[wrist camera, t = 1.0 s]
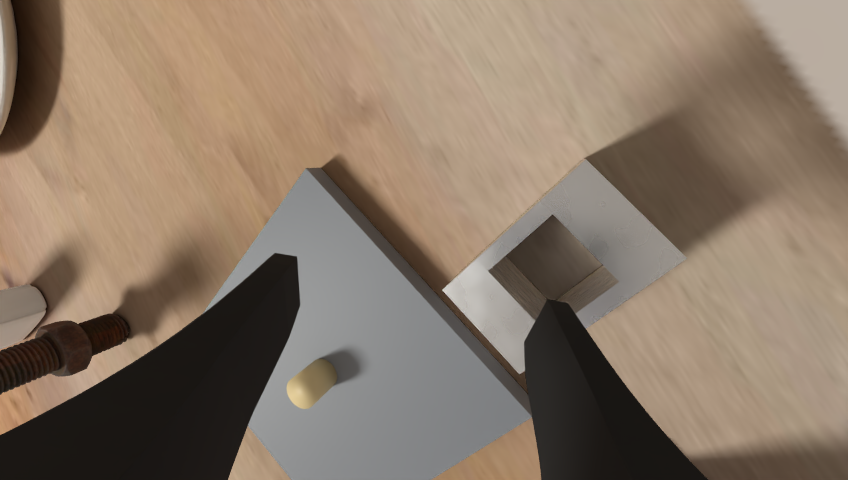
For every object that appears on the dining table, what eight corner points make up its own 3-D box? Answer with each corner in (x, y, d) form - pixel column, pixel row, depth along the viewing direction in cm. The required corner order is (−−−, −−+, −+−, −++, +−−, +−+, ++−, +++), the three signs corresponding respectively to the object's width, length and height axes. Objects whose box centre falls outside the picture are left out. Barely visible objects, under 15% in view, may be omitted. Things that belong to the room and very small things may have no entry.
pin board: (534, 401, 23) (527, 447, 19) (348, 520, 31) (318, 569, 27) (320, 167, 25) (277, 169, 21) (197, 335, 33) (151, 357, 29)
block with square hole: (665, 238, 19) (687, 258, 15) (528, 338, 22) (519, 374, 19) (583, 158, 19) (586, 159, 16) (462, 268, 23) (442, 289, 19)
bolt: (105, 289, 37) (-174, 369, 23) (140, 314, 35) (-132, 414, 22) (101, 337, 39) (-159, 437, 25) (135, 363, 37) (-119, 482, 24)
